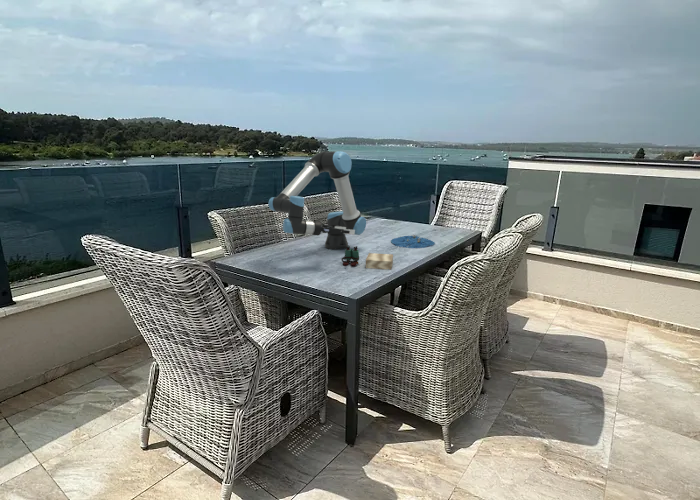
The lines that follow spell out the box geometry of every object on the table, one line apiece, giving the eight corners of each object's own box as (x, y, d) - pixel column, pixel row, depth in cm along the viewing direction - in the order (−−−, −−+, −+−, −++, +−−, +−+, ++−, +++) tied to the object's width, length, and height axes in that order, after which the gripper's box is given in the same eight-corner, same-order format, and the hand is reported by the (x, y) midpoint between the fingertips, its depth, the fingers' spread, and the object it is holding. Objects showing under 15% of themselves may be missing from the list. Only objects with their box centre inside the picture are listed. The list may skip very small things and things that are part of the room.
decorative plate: (435, 252, 245) (435, 244, 243) (389, 248, 250) (389, 241, 248) (434, 239, 272) (434, 232, 271) (392, 237, 277) (392, 230, 276)
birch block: (365, 268, 206) (365, 260, 204) (368, 261, 219) (368, 253, 217) (391, 270, 203) (391, 261, 202) (392, 262, 217) (393, 254, 215)
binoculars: (339, 250, 204) (345, 243, 213) (340, 267, 208) (346, 261, 217) (355, 251, 201) (360, 245, 210) (355, 269, 205) (361, 262, 214)
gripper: (305, 232, 211) (341, 234, 219) (318, 238, 188) (357, 240, 196) (307, 218, 210) (342, 222, 218) (320, 223, 187) (359, 226, 195)
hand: (349, 230), depth 207 cm, fingers open, 13 cm apart
